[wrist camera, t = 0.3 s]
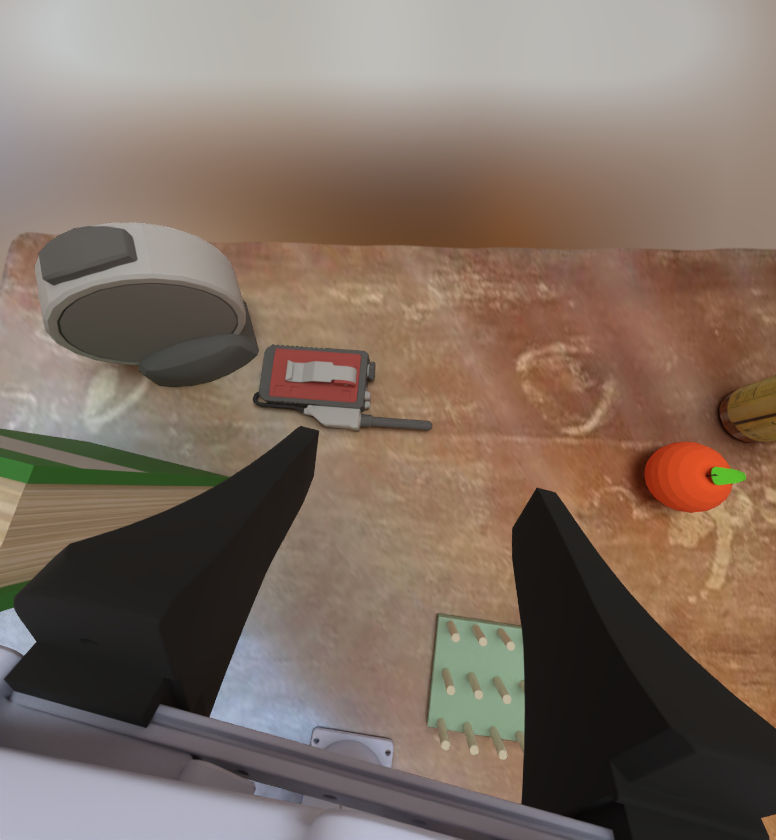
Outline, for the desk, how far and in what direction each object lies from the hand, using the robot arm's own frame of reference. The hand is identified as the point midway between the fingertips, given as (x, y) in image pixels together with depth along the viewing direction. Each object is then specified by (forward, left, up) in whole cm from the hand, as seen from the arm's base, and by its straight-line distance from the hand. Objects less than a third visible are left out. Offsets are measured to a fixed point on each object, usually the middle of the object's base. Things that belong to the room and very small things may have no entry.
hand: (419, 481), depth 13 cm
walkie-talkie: (+10, +8, -30) cm, 33 cm away
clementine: (+5, -28, -30) cm, 42 cm away
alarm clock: (+14, +26, -30) cm, 42 cm away
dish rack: (-17, -10, -30) cm, 36 cm away
